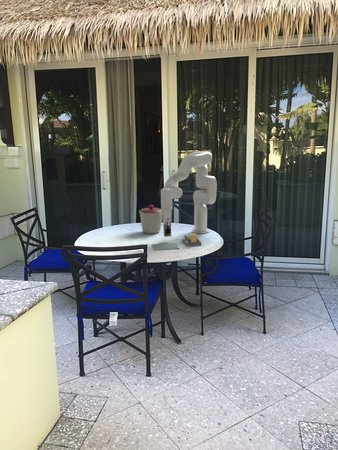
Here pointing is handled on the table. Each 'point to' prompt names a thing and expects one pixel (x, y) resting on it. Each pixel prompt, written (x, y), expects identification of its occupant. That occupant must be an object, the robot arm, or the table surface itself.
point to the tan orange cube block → (193, 237)
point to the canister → (151, 219)
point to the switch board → (188, 241)
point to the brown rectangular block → (165, 230)
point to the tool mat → (165, 246)
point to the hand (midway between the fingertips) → (167, 232)
